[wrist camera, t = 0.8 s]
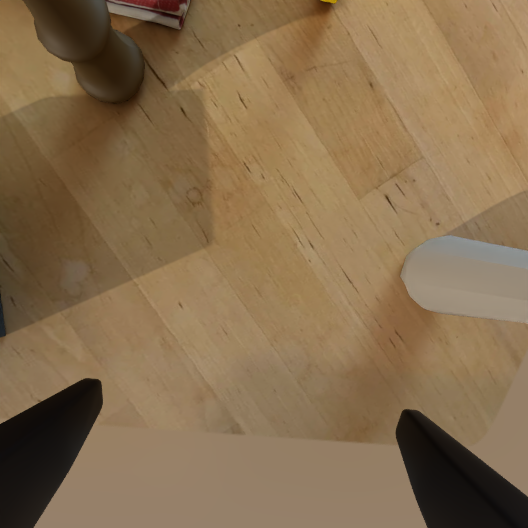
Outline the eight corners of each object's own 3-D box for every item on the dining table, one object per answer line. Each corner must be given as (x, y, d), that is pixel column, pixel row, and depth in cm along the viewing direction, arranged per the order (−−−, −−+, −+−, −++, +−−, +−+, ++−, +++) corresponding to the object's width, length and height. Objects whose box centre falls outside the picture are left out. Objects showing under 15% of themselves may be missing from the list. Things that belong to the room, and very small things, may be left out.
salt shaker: (380, 253, 22) (560, 263, 9) (444, 226, 22) (720, 196, 9) (404, 316, 22) (612, 416, 9) (467, 290, 22) (765, 353, 9)
